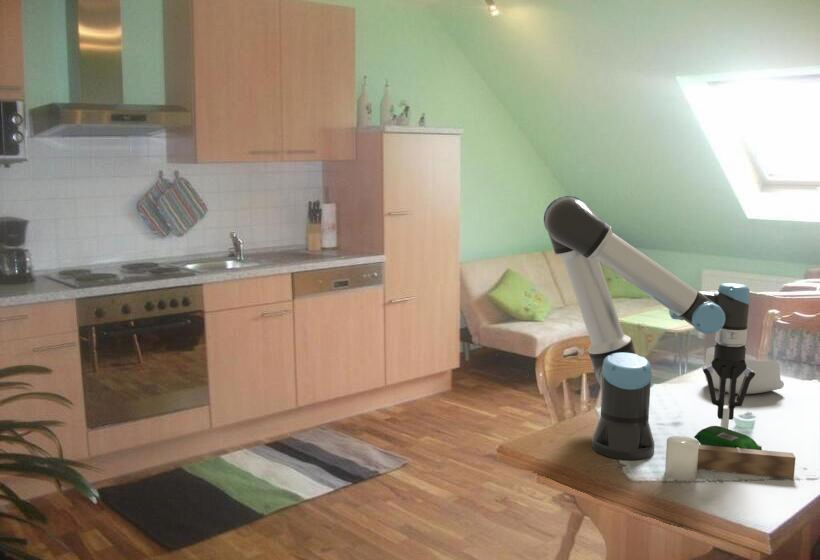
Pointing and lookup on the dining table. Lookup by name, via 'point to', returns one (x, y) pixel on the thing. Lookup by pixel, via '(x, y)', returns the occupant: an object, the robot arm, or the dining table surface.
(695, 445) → the white tall rounded block
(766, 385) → the bowl
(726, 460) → the batten
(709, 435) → the snack package
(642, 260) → the robot arm
